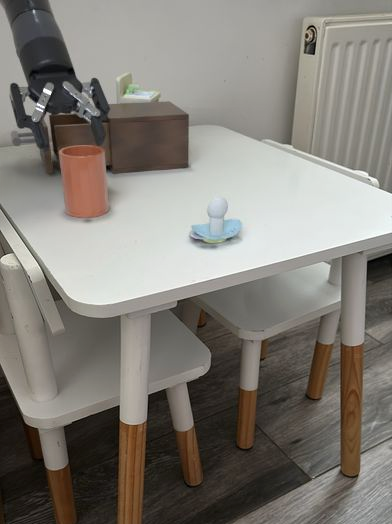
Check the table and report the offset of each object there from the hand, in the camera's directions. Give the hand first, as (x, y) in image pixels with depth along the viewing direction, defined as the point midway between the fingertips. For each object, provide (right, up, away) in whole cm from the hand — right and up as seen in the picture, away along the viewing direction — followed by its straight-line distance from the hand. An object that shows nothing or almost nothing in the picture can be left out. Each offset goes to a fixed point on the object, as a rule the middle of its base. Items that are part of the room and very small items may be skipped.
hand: (74, 146), depth 84 cm
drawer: (-6, +4, +21) cm, 22 cm away
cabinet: (+8, +6, +25) cm, 27 cm away
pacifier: (+21, -15, -6) cm, 26 cm away
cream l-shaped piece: (+6, +15, +38) cm, 41 cm away
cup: (+1, -9, +3) cm, 9 cm away
